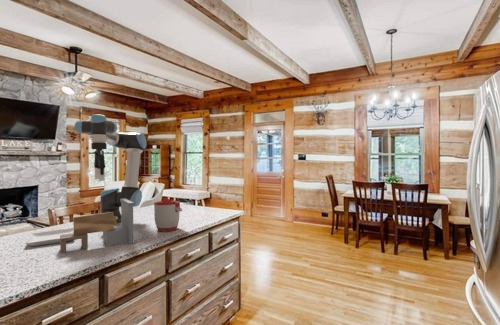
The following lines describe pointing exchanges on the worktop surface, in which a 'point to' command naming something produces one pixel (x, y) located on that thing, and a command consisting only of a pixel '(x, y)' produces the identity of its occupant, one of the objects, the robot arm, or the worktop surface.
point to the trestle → (73, 237)
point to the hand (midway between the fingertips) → (99, 179)
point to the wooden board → (93, 223)
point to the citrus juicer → (167, 214)
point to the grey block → (122, 226)
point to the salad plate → (47, 237)
